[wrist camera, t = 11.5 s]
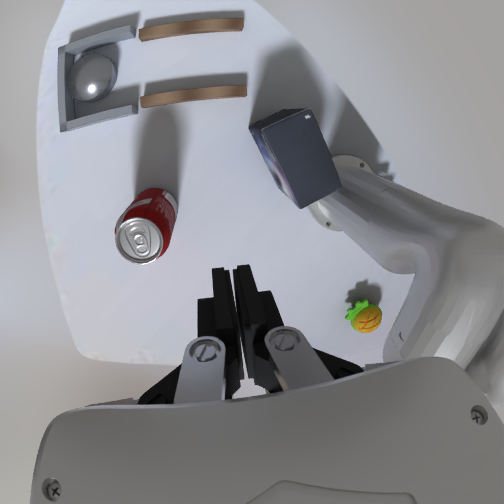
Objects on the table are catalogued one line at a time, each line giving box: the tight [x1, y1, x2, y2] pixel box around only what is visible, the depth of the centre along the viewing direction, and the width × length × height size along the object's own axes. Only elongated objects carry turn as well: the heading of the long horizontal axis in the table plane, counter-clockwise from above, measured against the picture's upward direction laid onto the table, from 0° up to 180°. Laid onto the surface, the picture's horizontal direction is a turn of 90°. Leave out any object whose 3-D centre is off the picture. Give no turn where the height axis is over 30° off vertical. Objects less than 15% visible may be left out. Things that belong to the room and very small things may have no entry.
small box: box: [249, 108, 343, 209], centre depth 33 cm, size 11×6×10 cm, turn 27°
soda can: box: [115, 188, 178, 264], centre depth 34 cm, size 7×7×12 cm
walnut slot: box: [139, 18, 247, 108], centre depth 29 cm, size 14×12×2 cm
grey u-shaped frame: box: [58, 25, 138, 132], centre depth 27 cm, size 11×13×3 cm
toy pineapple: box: [345, 299, 382, 333], centre depth 52 cm, size 7×10×5 cm
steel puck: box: [67, 53, 117, 101], centre depth 27 cm, size 7×7×3 cm
